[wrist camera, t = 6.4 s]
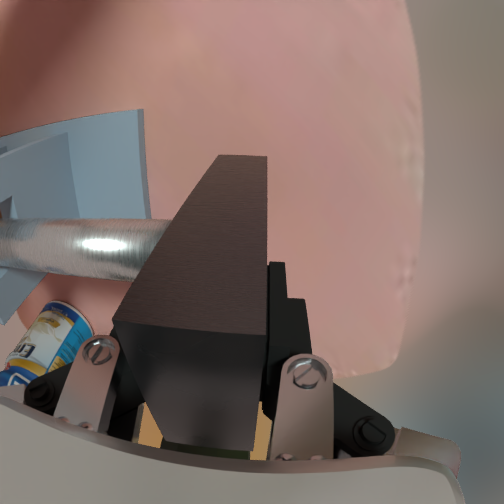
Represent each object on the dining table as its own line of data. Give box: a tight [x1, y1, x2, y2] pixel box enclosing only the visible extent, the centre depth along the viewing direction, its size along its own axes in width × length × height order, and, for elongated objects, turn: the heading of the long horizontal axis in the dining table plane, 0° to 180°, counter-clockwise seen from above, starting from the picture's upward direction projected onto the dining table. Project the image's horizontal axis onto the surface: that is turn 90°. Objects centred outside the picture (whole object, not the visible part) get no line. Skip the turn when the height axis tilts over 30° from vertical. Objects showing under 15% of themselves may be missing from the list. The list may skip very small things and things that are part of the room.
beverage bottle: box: [0, 301, 93, 387], centre depth 25 cm, size 8×8×20 cm
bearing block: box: [0, 109, 151, 325], centre depth 18 cm, size 22×12×14 cm, turn 88°
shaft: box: [0, 155, 267, 451], centre depth 13 cm, size 18×6×14 cm, turn 88°
